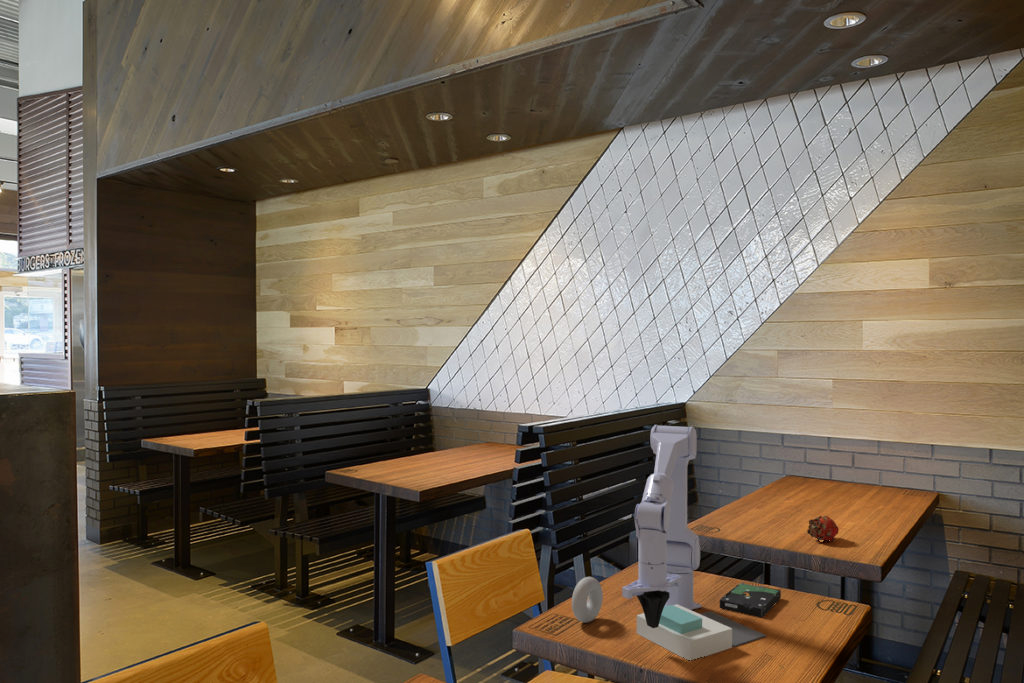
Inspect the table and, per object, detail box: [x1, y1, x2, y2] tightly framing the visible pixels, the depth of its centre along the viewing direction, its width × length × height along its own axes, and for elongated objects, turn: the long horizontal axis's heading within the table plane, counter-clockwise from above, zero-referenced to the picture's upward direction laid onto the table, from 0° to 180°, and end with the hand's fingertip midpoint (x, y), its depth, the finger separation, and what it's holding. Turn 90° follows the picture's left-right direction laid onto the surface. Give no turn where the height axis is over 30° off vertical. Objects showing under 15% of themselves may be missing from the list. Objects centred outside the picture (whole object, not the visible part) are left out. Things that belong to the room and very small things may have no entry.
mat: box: [699, 610, 767, 648], centre depth 162 cm, size 16×10×1 cm, turn 31°
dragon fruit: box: [806, 515, 839, 542], centre depth 230 cm, size 8×8×12 cm
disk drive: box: [719, 582, 782, 618], centre depth 177 cm, size 10×3×15 cm
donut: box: [571, 576, 604, 623], centre depth 167 cm, size 10×4×10 cm, turn 141°
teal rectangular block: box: [659, 605, 702, 634], centre depth 155 cm, size 9×6×2 cm, turn 31°
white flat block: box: [636, 604, 733, 662], centre depth 156 cm, size 16×12×4 cm
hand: (652, 626), depth 152 cm, fingers closed
